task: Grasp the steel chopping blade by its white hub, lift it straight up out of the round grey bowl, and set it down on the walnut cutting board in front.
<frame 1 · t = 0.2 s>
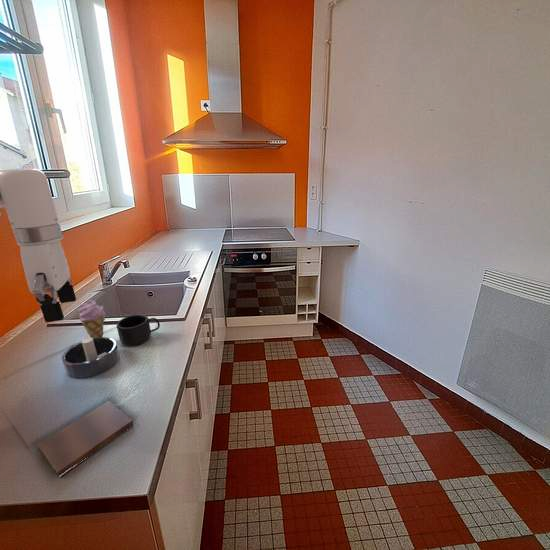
hand: (62, 310, 66), 22 cm above the worktop, tool pointing down, fingers open, 9 cm apart
mug: (141, 340, 96), on the worktop
ice cream cone: (100, 345, 94), on the worktop
round grey bowl: (94, 365, 84), on the worktop
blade: (93, 363, 84), point 1 cm above the worktop, touching round grey bowl
cutting board: (88, 437, 61), on the worktop
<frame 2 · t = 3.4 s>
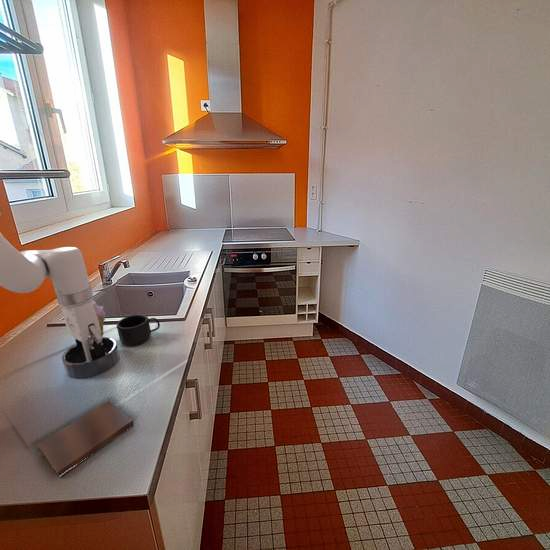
hand: (92, 353, 83), 4 cm above the worktop, tool pointing down, fingers open, 7 cm apart
nothing on the worktop moved.
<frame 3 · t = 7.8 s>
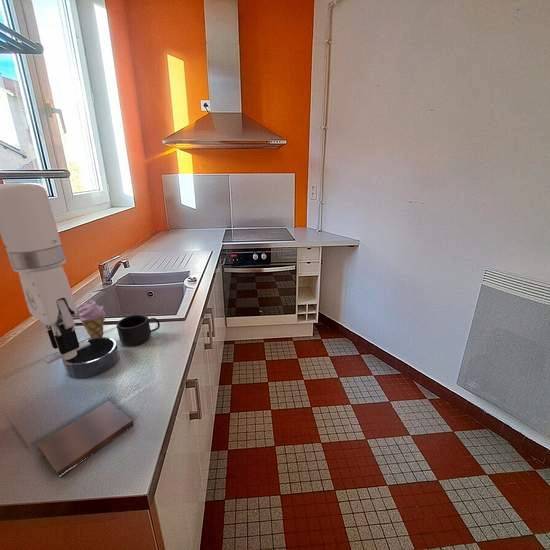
hand: (66, 347, 58), 19 cm above the worktop, tool pointing down, fingers closed on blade, 2 cm apart
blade: (69, 356, 59), point 17 cm above the worktop, touching gripper
everything else where it was.
when the fingers open (4 cm above the worktop, at t = 11.9 s): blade stays where it is, resting on cutting board.
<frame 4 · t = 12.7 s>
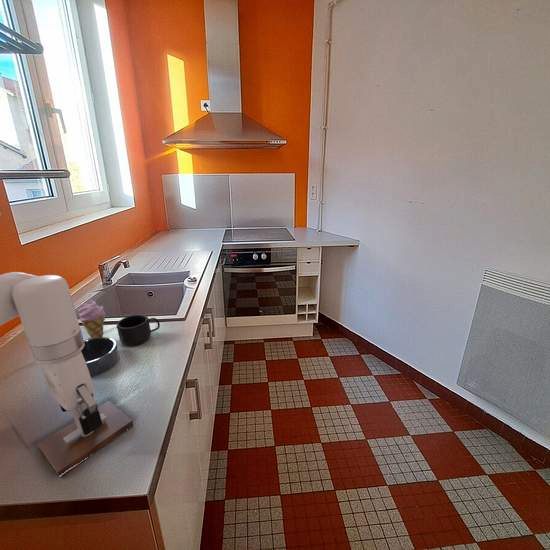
hand: (81, 417, 60), 5 cm above the worktop, tool pointing down, fingers open, 9 cm apart
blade: (87, 431, 61), point 1 cm above the worktop, touching cutting board
everything else where it was.
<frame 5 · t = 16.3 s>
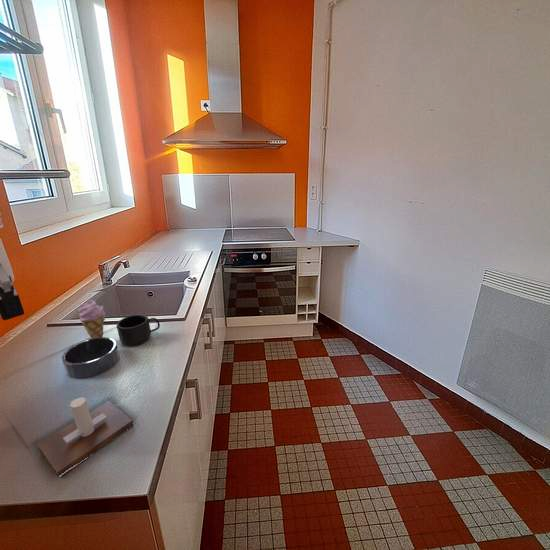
hand: (5, 310, 58), 26 cm above the worktop, tool pointing down, fingers open, 9 cm apart
nothing on the worktop moved.
at the end: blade inside the target area on the cutting board (0.1 cm from its centre), point 1.5 cm above the cutting board's base; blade tilted 0°; the gripper is holding nothing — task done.
